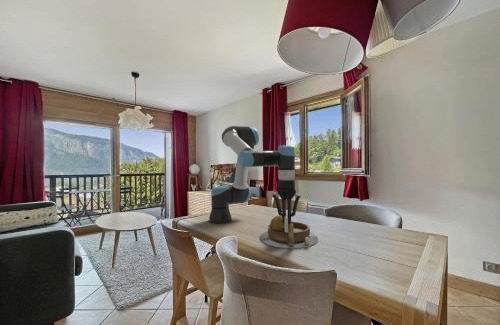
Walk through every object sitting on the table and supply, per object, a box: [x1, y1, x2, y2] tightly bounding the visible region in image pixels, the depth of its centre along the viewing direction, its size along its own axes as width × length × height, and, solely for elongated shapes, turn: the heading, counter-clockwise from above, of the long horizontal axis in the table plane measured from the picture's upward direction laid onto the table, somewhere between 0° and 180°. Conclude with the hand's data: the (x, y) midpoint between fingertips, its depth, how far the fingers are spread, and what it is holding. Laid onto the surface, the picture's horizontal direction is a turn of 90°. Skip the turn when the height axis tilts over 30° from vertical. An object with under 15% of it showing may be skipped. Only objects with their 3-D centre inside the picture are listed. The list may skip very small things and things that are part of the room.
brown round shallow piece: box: [267, 221, 311, 246], centre depth 114 cm, size 25×21×9 cm
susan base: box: [259, 230, 319, 250], centre depth 117 cm, size 29×29×4 cm
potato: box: [269, 214, 288, 232], centre depth 113 cm, size 10×14×8 cm
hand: (287, 231), depth 104 cm, fingers closed
